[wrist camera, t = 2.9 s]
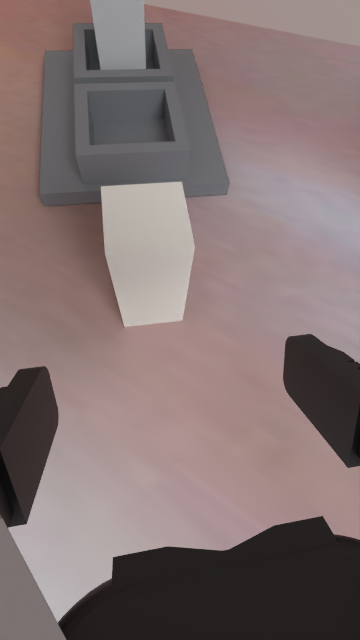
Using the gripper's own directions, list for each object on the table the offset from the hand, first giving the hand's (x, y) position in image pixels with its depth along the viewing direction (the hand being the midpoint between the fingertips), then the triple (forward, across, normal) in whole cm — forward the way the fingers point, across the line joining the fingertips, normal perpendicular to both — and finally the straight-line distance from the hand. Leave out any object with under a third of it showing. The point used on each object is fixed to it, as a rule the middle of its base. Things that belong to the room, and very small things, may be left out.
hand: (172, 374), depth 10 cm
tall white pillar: (+17, 0, +2) cm, 17 cm away
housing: (+32, 0, -13) cm, 35 cm away
